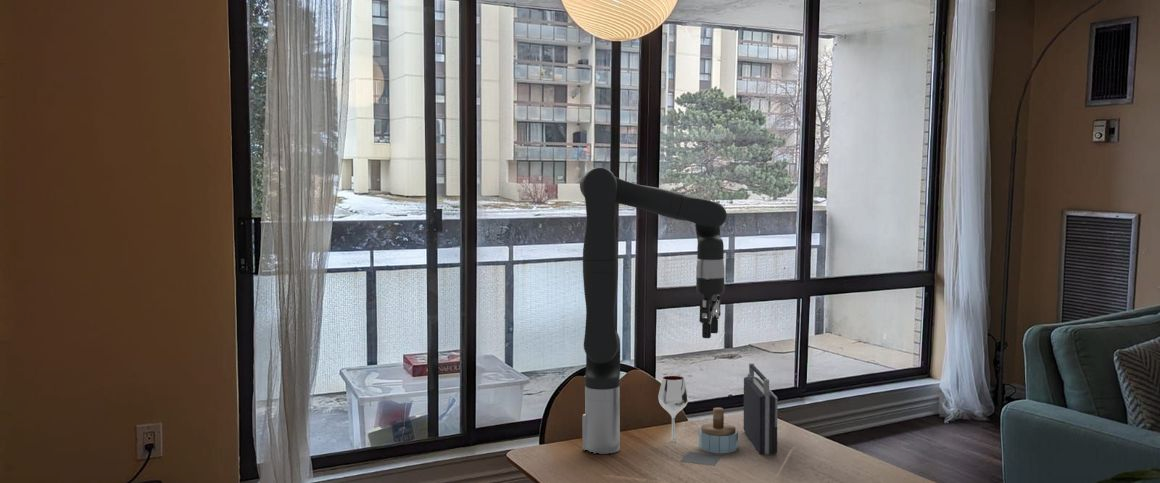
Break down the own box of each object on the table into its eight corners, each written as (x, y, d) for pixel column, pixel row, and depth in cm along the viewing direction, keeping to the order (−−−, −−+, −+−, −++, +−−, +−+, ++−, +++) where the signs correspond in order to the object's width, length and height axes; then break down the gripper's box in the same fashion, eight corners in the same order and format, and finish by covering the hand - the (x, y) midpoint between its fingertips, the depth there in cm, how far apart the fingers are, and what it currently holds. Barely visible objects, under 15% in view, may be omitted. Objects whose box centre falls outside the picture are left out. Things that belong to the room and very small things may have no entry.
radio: (779, 456, 221) (780, 380, 220) (759, 456, 221) (759, 380, 220) (761, 431, 245) (761, 362, 244) (743, 431, 245) (743, 362, 244)
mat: (679, 463, 215) (679, 461, 215) (688, 453, 224) (688, 451, 224) (714, 467, 212) (714, 465, 212) (722, 457, 220) (722, 455, 220)
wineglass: (694, 443, 233) (694, 378, 232) (671, 448, 228) (671, 382, 227) (674, 436, 240) (674, 373, 239) (652, 441, 235) (652, 377, 234)
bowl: (695, 452, 224) (695, 434, 224) (704, 442, 234) (704, 424, 233) (733, 456, 221) (733, 437, 220) (740, 446, 230) (740, 428, 230)
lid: (731, 437, 221) (731, 414, 221) (697, 433, 225) (697, 411, 224) (738, 428, 230) (738, 406, 229) (705, 425, 233) (705, 403, 233)
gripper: (702, 273, 237) (702, 331, 238) (690, 277, 224) (690, 338, 224) (729, 274, 234) (729, 332, 235) (718, 278, 221) (718, 340, 222)
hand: (710, 335), depth 230 cm, fingers open, 8 cm apart
